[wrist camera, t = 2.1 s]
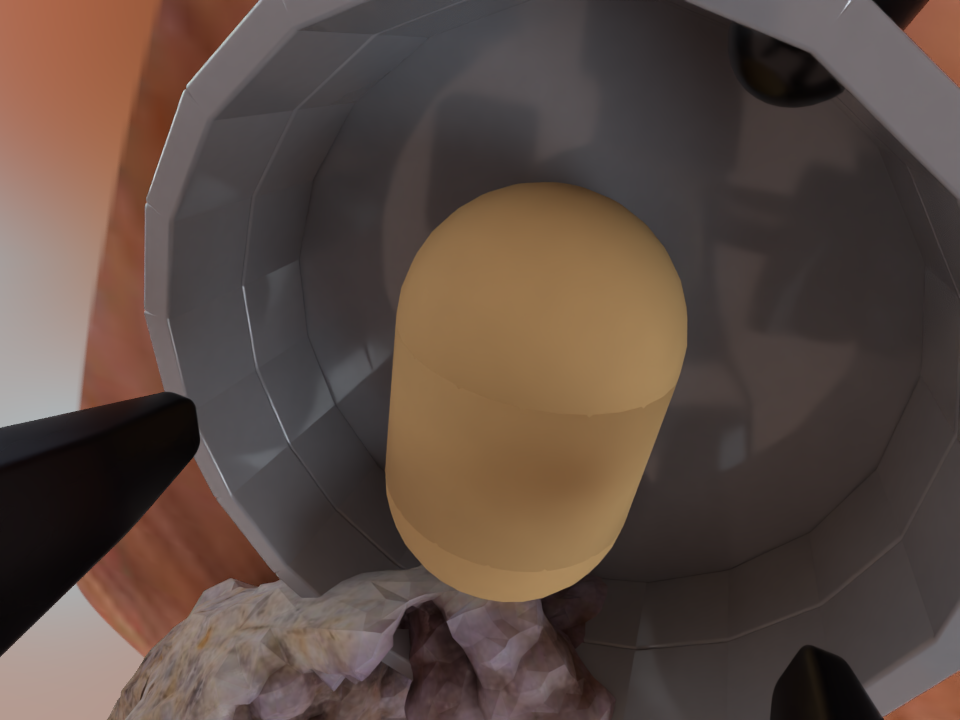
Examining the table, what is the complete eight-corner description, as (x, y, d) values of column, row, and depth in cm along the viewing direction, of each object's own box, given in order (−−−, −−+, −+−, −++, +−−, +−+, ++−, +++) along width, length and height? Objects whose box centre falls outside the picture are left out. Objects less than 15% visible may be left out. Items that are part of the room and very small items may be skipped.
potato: (615, 521, 14) (569, 703, 10) (437, 454, 15) (333, 593, 11) (735, 193, 10) (733, 283, 6) (478, 136, 11) (339, 181, 7)
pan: (576, 647, 17) (533, 808, 14) (221, 321, 17) (76, 397, 13) (1172, 376, 9) (1460, 589, 6) (530, -264, 9) (379, -498, 5)
